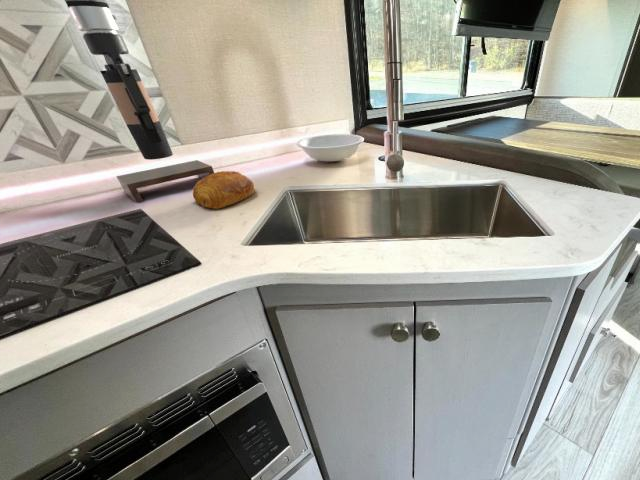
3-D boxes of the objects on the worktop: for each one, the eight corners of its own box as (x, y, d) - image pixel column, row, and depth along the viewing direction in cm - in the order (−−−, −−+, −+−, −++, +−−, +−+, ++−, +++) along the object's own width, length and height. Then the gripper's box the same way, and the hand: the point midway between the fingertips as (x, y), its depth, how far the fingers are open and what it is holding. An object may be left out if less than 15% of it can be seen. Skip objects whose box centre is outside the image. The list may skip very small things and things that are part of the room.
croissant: (267, 201, 90) (262, 171, 86) (218, 213, 78) (210, 179, 73) (231, 193, 95) (225, 165, 91) (180, 204, 83) (171, 171, 78)
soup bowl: (295, 157, 122) (291, 138, 118) (354, 149, 129) (352, 131, 125) (308, 172, 104) (303, 151, 100) (375, 162, 112) (373, 142, 108)
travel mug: (176, 152, 94) (141, 69, 81) (170, 158, 88) (131, 69, 76) (147, 154, 92) (106, 70, 80) (139, 161, 86) (93, 70, 74)
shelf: (136, 203, 86) (126, 184, 83) (125, 193, 92) (116, 176, 89) (218, 182, 98) (211, 166, 95) (203, 176, 105) (197, 160, 102)
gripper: (131, 30, 70) (178, 142, 84) (110, 36, 81) (155, 134, 95) (89, 29, 66) (146, 148, 79) (74, 35, 77) (126, 138, 91)
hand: (151, 140), depth 87 cm, fingers closed on travel mug, 8 cm apart
